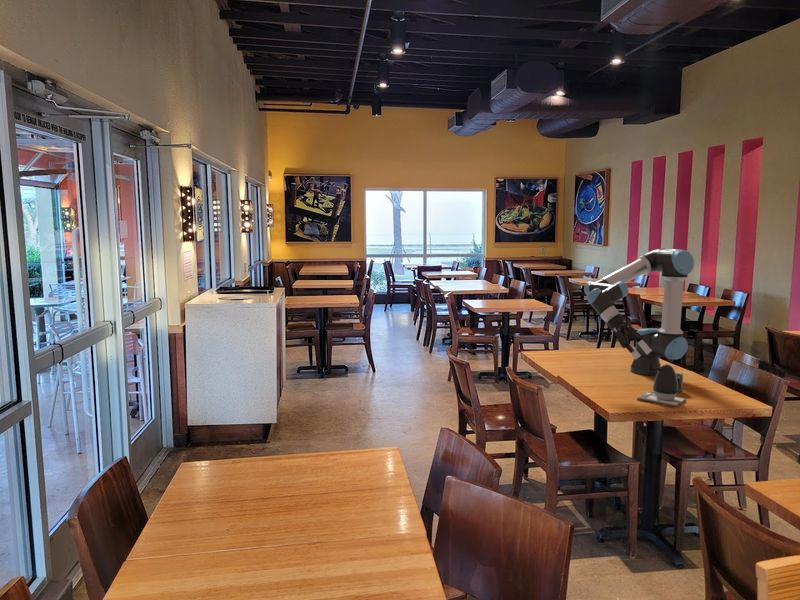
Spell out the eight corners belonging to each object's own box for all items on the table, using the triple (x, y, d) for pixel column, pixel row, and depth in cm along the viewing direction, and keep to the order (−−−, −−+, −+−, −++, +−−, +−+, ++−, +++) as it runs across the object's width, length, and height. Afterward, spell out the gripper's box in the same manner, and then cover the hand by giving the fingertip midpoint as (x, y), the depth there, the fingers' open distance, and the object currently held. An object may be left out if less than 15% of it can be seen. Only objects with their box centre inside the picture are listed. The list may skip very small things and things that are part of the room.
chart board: (648, 393, 275) (648, 390, 275) (685, 401, 265) (685, 398, 265) (637, 400, 265) (637, 397, 265) (675, 408, 255) (675, 405, 254)
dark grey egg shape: (647, 395, 268) (649, 362, 266) (669, 395, 269) (672, 361, 267) (659, 402, 258) (661, 367, 256) (682, 402, 259) (685, 367, 257)
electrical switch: (682, 391, 280) (683, 372, 278) (680, 395, 276) (682, 375, 274) (661, 388, 285) (662, 369, 283) (659, 391, 281) (659, 372, 279)
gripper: (617, 319, 288) (647, 355, 280) (595, 326, 269) (626, 364, 261) (629, 310, 283) (660, 346, 276) (607, 315, 265) (639, 354, 257)
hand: (644, 355), depth 268 cm, fingers open, 13 cm apart
